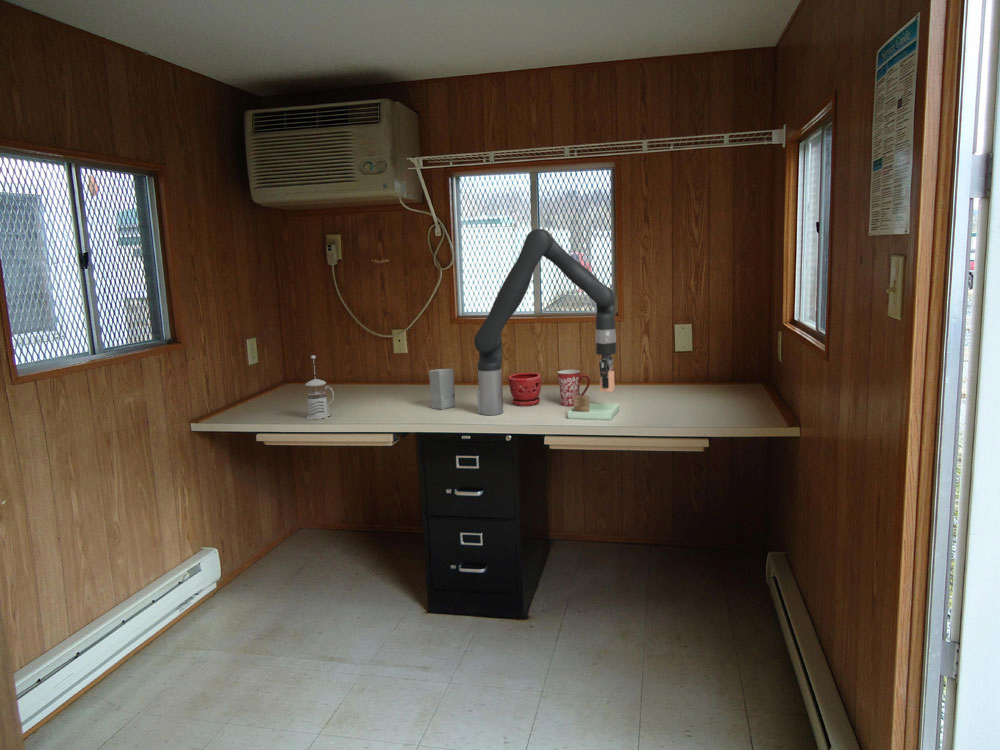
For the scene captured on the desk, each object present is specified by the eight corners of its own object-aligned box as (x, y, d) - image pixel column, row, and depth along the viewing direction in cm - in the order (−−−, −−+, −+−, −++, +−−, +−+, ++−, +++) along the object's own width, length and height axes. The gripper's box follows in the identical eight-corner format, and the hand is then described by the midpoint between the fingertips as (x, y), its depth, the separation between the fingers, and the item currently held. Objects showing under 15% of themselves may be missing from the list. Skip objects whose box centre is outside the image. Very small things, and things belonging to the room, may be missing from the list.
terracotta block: (600, 391, 271) (599, 372, 270) (602, 389, 275) (602, 370, 274) (612, 391, 270) (611, 373, 268) (614, 389, 274) (614, 370, 273)
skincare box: (441, 410, 293) (439, 371, 291) (429, 408, 298) (427, 370, 296) (456, 406, 300) (454, 368, 297) (445, 404, 304) (442, 367, 302)
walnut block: (574, 416, 269) (574, 397, 268) (577, 413, 273) (577, 395, 272) (586, 416, 267) (586, 398, 266) (589, 414, 271) (589, 395, 270)
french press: (308, 415, 296) (302, 354, 292) (337, 413, 297) (331, 352, 293) (304, 420, 287) (298, 357, 282) (334, 418, 288) (328, 356, 283)
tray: (567, 418, 268) (567, 411, 268) (578, 409, 283) (578, 402, 282) (610, 420, 263) (610, 413, 262) (619, 410, 277) (619, 404, 277)
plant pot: (516, 400, 306) (514, 372, 304) (545, 401, 301) (544, 372, 299) (505, 406, 294) (503, 377, 292) (536, 407, 289) (534, 378, 287)
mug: (558, 407, 289) (557, 373, 286) (558, 402, 298) (557, 369, 295) (590, 406, 288) (589, 372, 285) (589, 401, 296) (589, 368, 294)
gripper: (600, 338, 277) (601, 382, 280) (591, 343, 264) (592, 390, 267) (619, 338, 275) (620, 383, 277) (611, 343, 261) (613, 390, 264)
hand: (607, 386), depth 272 cm, fingers closed on terracotta block, 4 cm apart
